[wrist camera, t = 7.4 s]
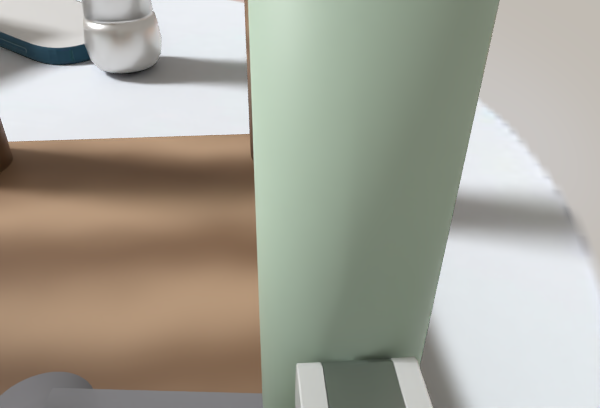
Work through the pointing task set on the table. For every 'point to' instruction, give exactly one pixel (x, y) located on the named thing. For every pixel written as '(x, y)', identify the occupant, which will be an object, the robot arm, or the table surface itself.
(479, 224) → the table surface
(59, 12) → the external hard drive
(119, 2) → the plastic bottle
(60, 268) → the stool
